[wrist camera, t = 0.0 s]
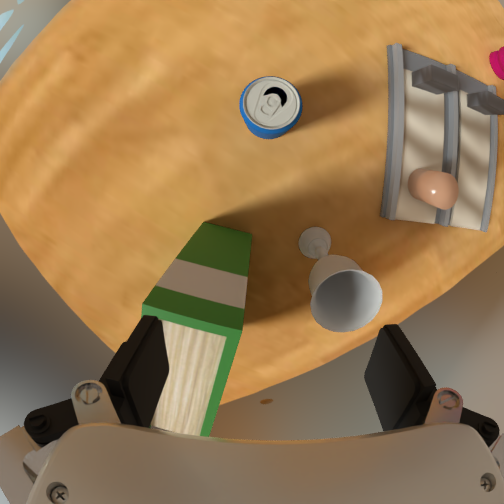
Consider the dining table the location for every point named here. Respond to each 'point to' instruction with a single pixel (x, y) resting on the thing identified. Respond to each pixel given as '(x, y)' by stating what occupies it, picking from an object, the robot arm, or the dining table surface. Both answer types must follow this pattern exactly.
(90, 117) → the dining table surface
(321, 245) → the chalice
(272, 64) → the dining table surface
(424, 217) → the strip
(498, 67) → the pepper mill
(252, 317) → the dining table surface
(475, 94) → the strip
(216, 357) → the hardback book
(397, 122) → the track board
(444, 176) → the light brown rounded piece
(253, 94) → the beverage can
